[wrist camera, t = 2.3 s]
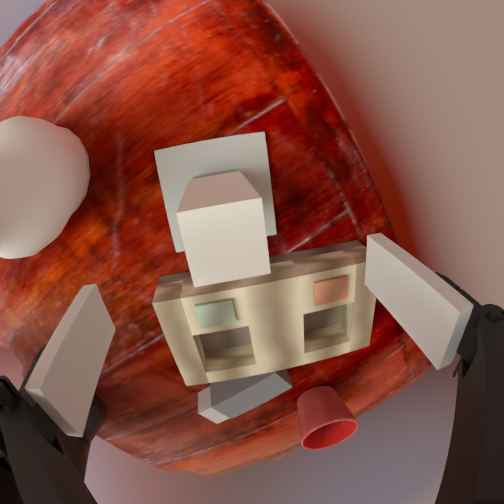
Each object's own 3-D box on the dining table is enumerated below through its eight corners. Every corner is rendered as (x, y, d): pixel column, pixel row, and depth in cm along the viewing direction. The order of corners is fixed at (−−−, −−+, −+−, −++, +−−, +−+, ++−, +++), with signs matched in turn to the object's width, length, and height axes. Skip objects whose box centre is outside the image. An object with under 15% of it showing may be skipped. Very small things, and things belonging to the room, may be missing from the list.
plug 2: (215, 403, 46) (217, 425, 42) (196, 391, 44) (197, 414, 40) (285, 364, 44) (292, 386, 40) (268, 349, 42) (275, 372, 38)
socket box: (187, 356, 40) (186, 388, 34) (159, 276, 34) (151, 305, 28) (352, 321, 42) (370, 348, 36) (357, 240, 36) (381, 260, 31)
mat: (176, 250, 33) (176, 252, 33) (154, 150, 28) (153, 151, 28) (275, 232, 34) (276, 234, 34) (263, 131, 29) (264, 131, 29)
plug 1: (199, 218, 32) (194, 287, 18) (191, 175, 30) (176, 212, 16) (243, 210, 32) (270, 273, 18) (236, 167, 30) (261, 197, 16)
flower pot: (281, 414, 50) (293, 453, 41) (299, 380, 46) (315, 423, 37) (328, 411, 52) (342, 446, 44) (349, 377, 48) (369, 415, 40)
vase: (98, 233, 31) (13, 340, 13) (12, 225, 28) (-81, 301, 10) (105, 114, 26) (-15, 107, 8) (13, 120, 23) (-104, 139, 5)
